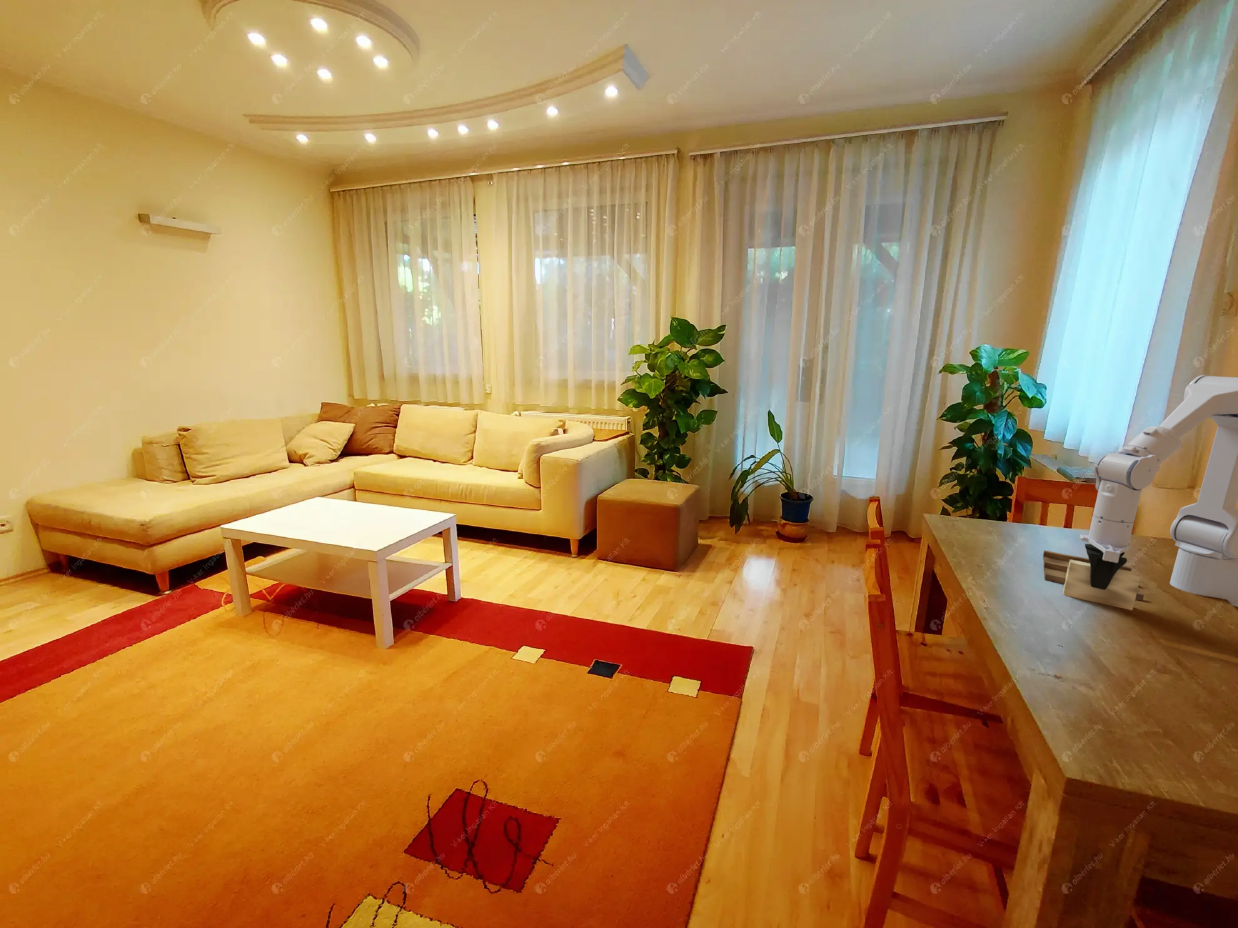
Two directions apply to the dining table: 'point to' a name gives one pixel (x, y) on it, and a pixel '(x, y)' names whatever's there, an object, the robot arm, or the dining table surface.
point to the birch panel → (1116, 593)
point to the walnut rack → (1058, 567)
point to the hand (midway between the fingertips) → (1097, 585)
